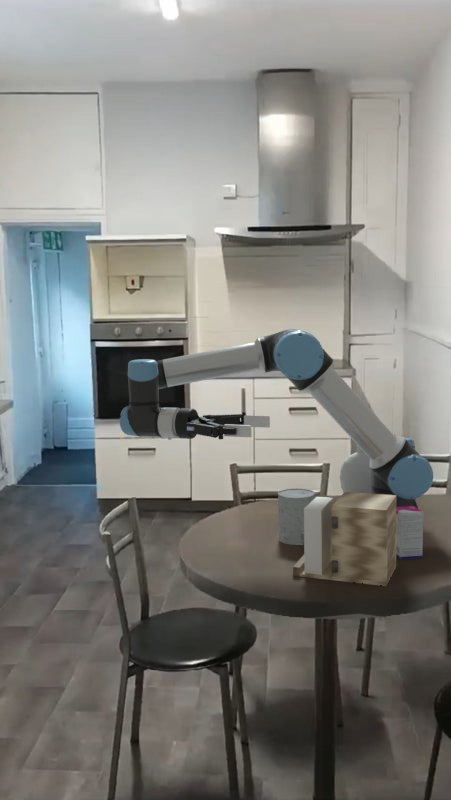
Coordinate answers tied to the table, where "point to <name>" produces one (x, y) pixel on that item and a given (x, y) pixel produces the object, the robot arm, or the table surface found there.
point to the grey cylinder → (292, 514)
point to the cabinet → (360, 540)
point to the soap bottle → (356, 473)
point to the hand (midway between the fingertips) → (260, 426)
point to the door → (317, 535)
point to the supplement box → (409, 532)
